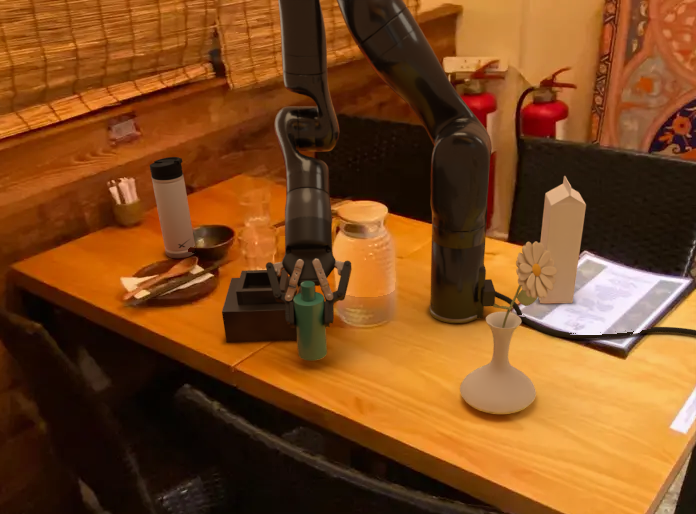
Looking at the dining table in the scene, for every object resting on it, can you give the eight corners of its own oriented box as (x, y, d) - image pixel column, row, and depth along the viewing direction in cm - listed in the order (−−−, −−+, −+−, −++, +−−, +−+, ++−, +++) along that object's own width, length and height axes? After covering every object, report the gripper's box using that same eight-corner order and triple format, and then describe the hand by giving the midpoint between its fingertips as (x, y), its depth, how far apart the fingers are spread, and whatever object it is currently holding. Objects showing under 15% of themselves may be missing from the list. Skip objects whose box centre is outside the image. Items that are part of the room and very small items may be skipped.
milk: (540, 304, 144) (552, 187, 131) (535, 289, 149) (546, 175, 136) (573, 303, 144) (588, 186, 131) (567, 288, 149) (581, 174, 136)
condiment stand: (305, 305, 145) (302, 262, 140) (301, 340, 135) (298, 296, 130) (235, 307, 145) (229, 265, 140) (226, 342, 134) (219, 298, 129)
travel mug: (190, 260, 163) (174, 164, 151) (161, 257, 164) (142, 163, 152) (202, 247, 168) (187, 154, 156) (173, 245, 169) (156, 153, 157)
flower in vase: (482, 429, 113) (494, 270, 98) (446, 389, 121) (452, 238, 107) (559, 407, 117) (580, 252, 102) (518, 370, 125) (533, 222, 111)
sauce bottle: (327, 345, 129) (323, 276, 122) (326, 360, 126) (322, 290, 118) (298, 345, 129) (293, 277, 122) (297, 361, 125) (291, 291, 118)
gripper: (260, 215, 121) (261, 321, 119) (352, 213, 122) (355, 318, 119) (266, 233, 129) (267, 333, 126) (353, 231, 129) (355, 331, 126)
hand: (310, 325), depth 122 cm, fingers closed on sauce bottle, 5 cm apart
